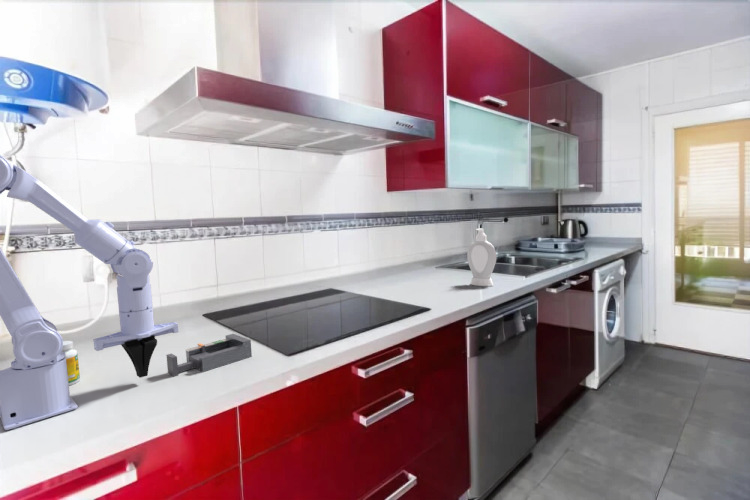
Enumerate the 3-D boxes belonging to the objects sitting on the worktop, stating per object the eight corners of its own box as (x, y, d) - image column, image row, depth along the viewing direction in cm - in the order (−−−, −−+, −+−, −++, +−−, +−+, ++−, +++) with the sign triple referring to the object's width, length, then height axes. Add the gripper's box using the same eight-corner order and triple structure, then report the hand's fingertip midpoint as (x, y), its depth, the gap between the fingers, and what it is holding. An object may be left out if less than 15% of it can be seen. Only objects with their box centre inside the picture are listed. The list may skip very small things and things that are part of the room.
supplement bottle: (49, 384, 81) (44, 344, 81) (77, 376, 85) (73, 338, 84) (53, 390, 78) (49, 348, 77) (82, 382, 82) (78, 342, 81)
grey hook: (174, 376, 82) (173, 358, 82) (163, 369, 87) (161, 352, 86) (214, 364, 89) (213, 347, 88) (202, 358, 93) (200, 342, 93)
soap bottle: (462, 285, 171) (461, 228, 169) (469, 283, 177) (469, 228, 175) (492, 288, 163) (491, 228, 161) (498, 285, 169) (498, 227, 167)
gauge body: (202, 372, 85) (201, 353, 84) (186, 363, 90) (185, 346, 90) (251, 356, 93) (250, 339, 93) (234, 349, 99) (233, 333, 98)
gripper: (97, 320, 71) (105, 393, 72) (182, 304, 81) (187, 368, 83) (87, 314, 75) (95, 383, 77) (168, 300, 86) (174, 361, 87)
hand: (142, 375), depth 80 cm, fingers closed
